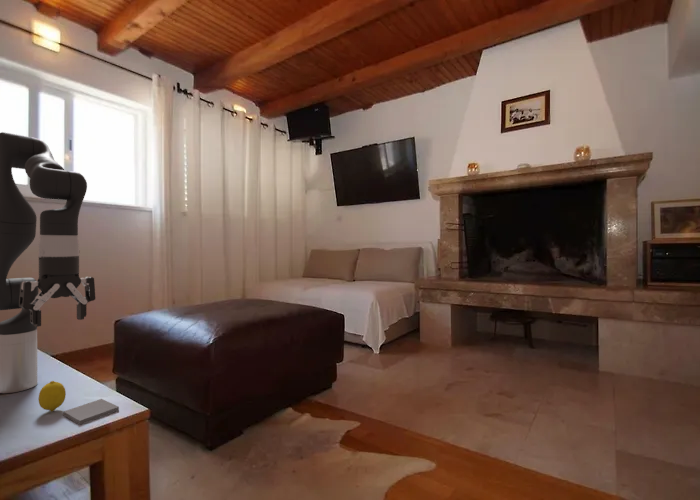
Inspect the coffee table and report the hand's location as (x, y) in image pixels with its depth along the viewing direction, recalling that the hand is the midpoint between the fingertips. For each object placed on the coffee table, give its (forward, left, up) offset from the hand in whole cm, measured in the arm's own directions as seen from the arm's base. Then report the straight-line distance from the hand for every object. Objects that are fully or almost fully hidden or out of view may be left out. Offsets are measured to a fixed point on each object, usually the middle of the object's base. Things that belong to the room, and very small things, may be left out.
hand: (59, 322), depth 87 cm
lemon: (-12, +3, -26) cm, 29 cm away
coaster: (-3, +8, -26) cm, 27 cm away
